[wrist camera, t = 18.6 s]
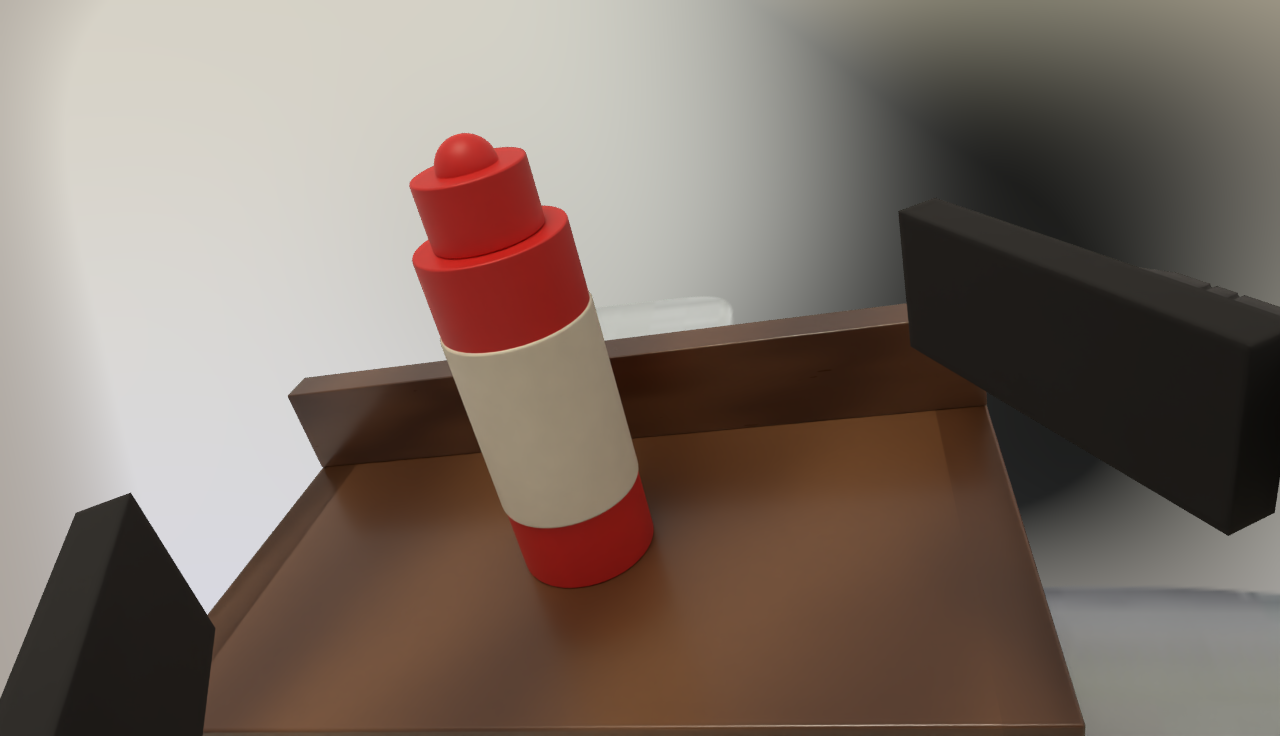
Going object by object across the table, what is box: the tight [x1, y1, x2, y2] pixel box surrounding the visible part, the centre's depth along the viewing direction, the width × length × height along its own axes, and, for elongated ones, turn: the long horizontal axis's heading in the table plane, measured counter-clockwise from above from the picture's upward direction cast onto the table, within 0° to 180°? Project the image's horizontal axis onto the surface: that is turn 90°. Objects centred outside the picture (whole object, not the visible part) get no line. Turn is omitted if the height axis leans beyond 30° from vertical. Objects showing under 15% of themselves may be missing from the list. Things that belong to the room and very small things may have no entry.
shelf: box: [203, 303, 1085, 736], centre depth 25 cm, size 22×12×12 cm, turn 81°
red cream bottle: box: [410, 133, 654, 588], centre depth 21 cm, size 4×4×11 cm
